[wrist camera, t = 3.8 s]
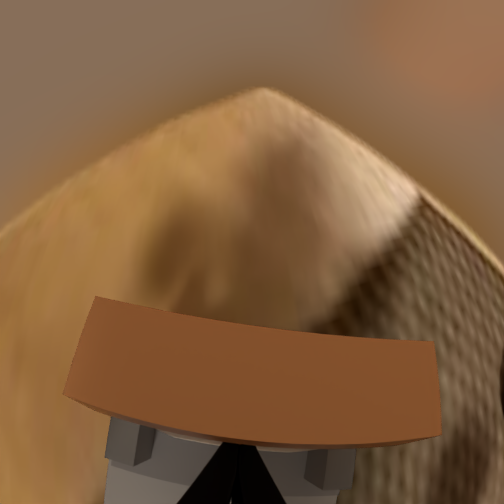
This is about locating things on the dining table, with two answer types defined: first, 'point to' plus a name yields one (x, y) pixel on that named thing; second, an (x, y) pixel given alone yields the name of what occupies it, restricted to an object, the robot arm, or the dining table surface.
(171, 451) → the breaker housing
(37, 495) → the dining table surface
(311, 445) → the lever
